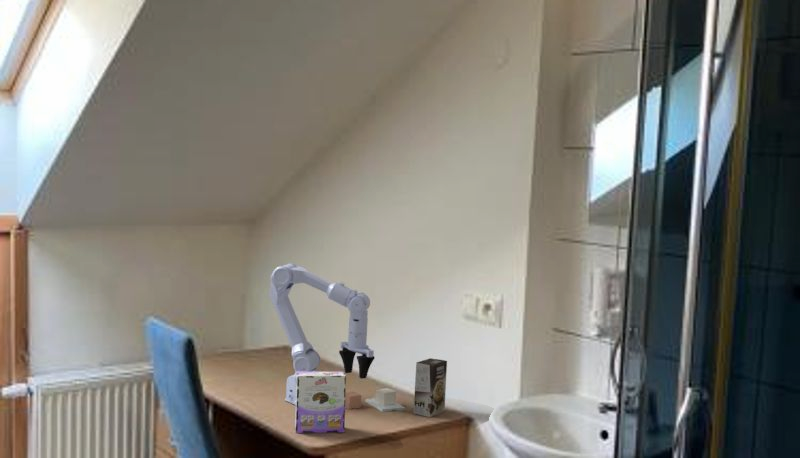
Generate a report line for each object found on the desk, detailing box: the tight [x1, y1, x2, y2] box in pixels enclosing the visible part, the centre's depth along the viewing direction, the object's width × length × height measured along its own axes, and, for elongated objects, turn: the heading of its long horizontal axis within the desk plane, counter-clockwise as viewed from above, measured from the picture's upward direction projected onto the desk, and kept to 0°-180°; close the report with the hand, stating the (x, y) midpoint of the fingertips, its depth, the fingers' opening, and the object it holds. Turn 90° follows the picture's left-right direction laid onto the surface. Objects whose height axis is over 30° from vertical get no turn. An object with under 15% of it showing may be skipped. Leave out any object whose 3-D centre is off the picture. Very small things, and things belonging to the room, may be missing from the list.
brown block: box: [345, 391, 362, 410], centre depth 266 cm, size 4×4×4 cm
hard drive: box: [365, 397, 407, 413], centre depth 269 cm, size 2×8×12 cm
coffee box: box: [413, 357, 448, 418], centre depth 262 cm, size 9×6×16 cm
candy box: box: [294, 370, 347, 434], centre depth 240 cm, size 14×6×16 cm, turn 99°
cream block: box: [375, 387, 397, 406], centre depth 268 cm, size 4×4×4 cm
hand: (355, 375), depth 266 cm, fingers open, 7 cm apart
